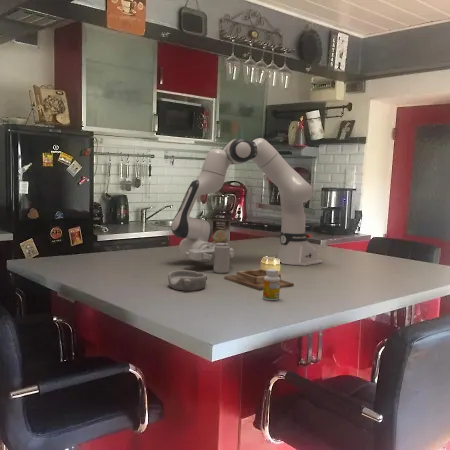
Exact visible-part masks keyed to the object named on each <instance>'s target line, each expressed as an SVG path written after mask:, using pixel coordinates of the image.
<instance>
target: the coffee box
mask: <svg viewBox="0 0 450 450" xmlns="http://www.w3.org/2000/svg"><path fill="white" fill-rule="evenodd" d="M211 230H212V234H211V243H228V244H229V245H230V238H231V233H230V232H231V220H230V219H218V218H214V219H212V229H211Z"/></svg>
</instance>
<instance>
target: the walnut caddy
mask: <svg viewBox="0 0 450 450" xmlns="http://www.w3.org/2000/svg"><path fill="white" fill-rule="evenodd" d="M266 270H267V269H249V270H240V271H237V270H236V274H232V275H225V276H224V278H223V279H224V280H228V281H230V282H234V283H237V284H239V285H241V286H245V287H248V288H251V289H254V290H257V291H263V284H264V277H265V276H266V275H267V274H266ZM277 276H278V277H280V289H283V287H284V288H289V287H290V288H291V287H294V285H295V284H294V283H293V282H290V281H285V280H282V279H281V276H282V274H280V273H278V275H277Z"/></svg>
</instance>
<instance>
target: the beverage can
mask: <svg viewBox="0 0 450 450" xmlns="http://www.w3.org/2000/svg"><path fill="white" fill-rule="evenodd" d="M215 244H216V245H215V246H214V260H213V271H214V272H215V273H216V274H228V272H230V261H231V260H230V259H231V258H230V248H231V247H230V243H229V244H228V243H215Z"/></svg>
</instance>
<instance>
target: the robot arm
mask: <svg viewBox="0 0 450 450" xmlns="http://www.w3.org/2000/svg"><path fill="white" fill-rule="evenodd" d="M250 160H251V161H252V162H254V163H255V165H256V166H257V167H258V168H259V170H261V171H262V173H263V174H264V175H265V176H266V177H267V179H268V180H269V181H271V183H273V184H274V185H275V186H276V187H277V188H278V194H279V198H280V208H281V209H280V210H281V229H280V230H281V231H280V232H279V242H280V243H279V248H278V252H277V253H278V254H277V258H279V259H280V261H281V263H280V264H283V265H292V266H293V265H296V266H303V267H306V266H311V265H316V264H320V263H323V260H322V259H320V258H319V257H318V250H317V249H316V247H315V246H314V245H312V244H311V243H310V242H309V241H308V239H311V238H312V234H311V233H307V234H306V220H307V219H306V218H307V217H306V212H305V209H304V203H307V202H308V201H310V199H312V197H313V194H314V193H313V191H314V190H313V187H312V185H311V184H310V183H309V182H308V181H307V180H306V179H304V178H303V176H301V175H300V174H299V173H298V172H297V171H296V170H295V169H294V168H293V167H292V166H290V165H289V164H288V162H287V161H286V160H285V158H283V156H282V155H281V154H280V152H278V150H277V149H276V148H275V147H274V146H273V145H272V144H270V143H269V141H267V139H265V138H262V137H258V138H255V139H254V140H250V139H247V138H243V137H241V138H240V137H239V138H235V139H232V140H231V141H229V142H227V143H226V144H225V145H224V146H223V147H222V148H220V149H219V148H213V149H210V150H209V151H208V153H207V154H206V156H205V159H204V162H203V164H202V166H201V171H200V174H199V175H198V177H197V178H196V179H195V180H192V182H191V183H190V184H189V186H188V187H187V191H186V193H185V194H184V197H183V199H182V201H181V204H180V206H179V208H178V210H177V213H176V214H175V216H174V218H173V219H172V221H171V224H170V225H171V226H170V230H171V232H172V234H173V235H174V236H175V238H180V239H181V241H180V242H179V245H178V248H179V251H180V253H181V254H182V255H183V256H185V257H187V258H188V259H189V260H192V261H198V262H202V263H209V262H211V261H214V246H215V245H216V244H215V243H212V242H210V240H211V239H212V230H213V229H212V226H211V224H210V222H209V221H207V220H204V219H201V218H196V217H192V216H190V214H191V213H192V210H193V207H194V206H195V203H196V201H197V200H198V198H200V196H203V195H210V194H214V193H217V192H218V191H220V190H221V189H222V187H223V185H224V184H225V180H226V176H227V172H228V171H227V170H228V169H229V166H231V165H241V164H244V163H247V162H249V161H250ZM234 255H235V251H234V248H232V247H230V259H232V258H234ZM277 258H276V259H277Z"/></svg>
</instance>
